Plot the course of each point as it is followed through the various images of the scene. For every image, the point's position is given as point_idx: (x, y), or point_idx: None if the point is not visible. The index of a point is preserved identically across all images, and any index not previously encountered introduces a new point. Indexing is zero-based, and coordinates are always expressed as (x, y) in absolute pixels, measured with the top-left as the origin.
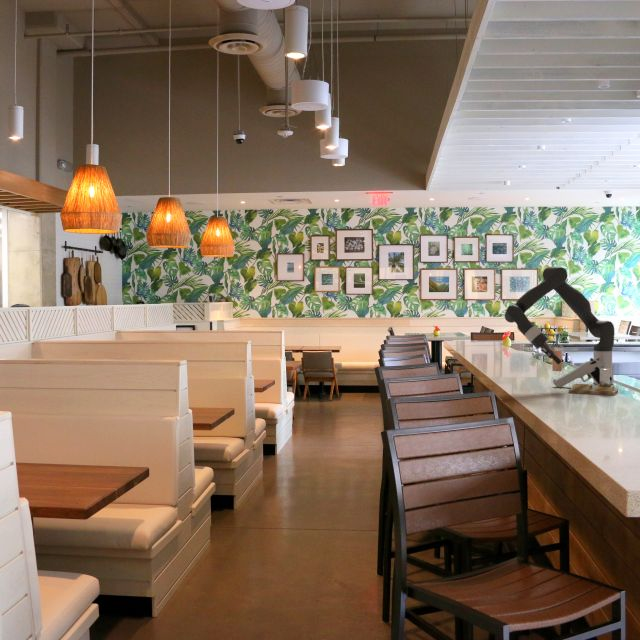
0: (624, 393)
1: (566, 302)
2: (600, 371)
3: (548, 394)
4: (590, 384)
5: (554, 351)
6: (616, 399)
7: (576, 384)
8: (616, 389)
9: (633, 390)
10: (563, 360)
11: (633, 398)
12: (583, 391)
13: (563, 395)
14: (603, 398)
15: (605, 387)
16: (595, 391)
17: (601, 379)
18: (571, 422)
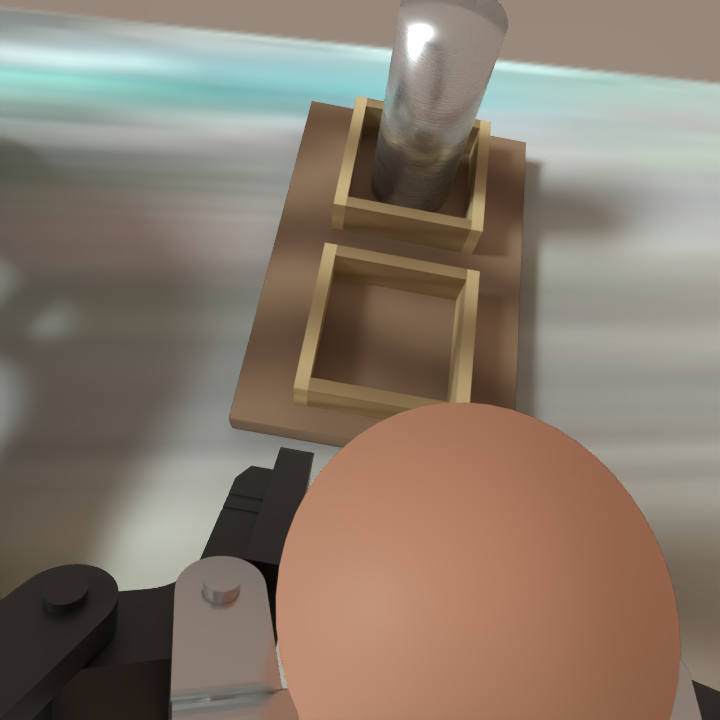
0: (350, 91)
1: None
2: (478, 73)
3: (714, 678)
4: (326, 257)
5: (646, 703)
6: (713, 161)
7: (337, 383)
8: (320, 110)
9: (136, 27)
10: (311, 453)
11: (605, 76)
12: (514, 341)
13: (706, 517)
14: (711, 227)
15: (486, 162)
16: (521, 251)
17: (466, 135)
18: None
